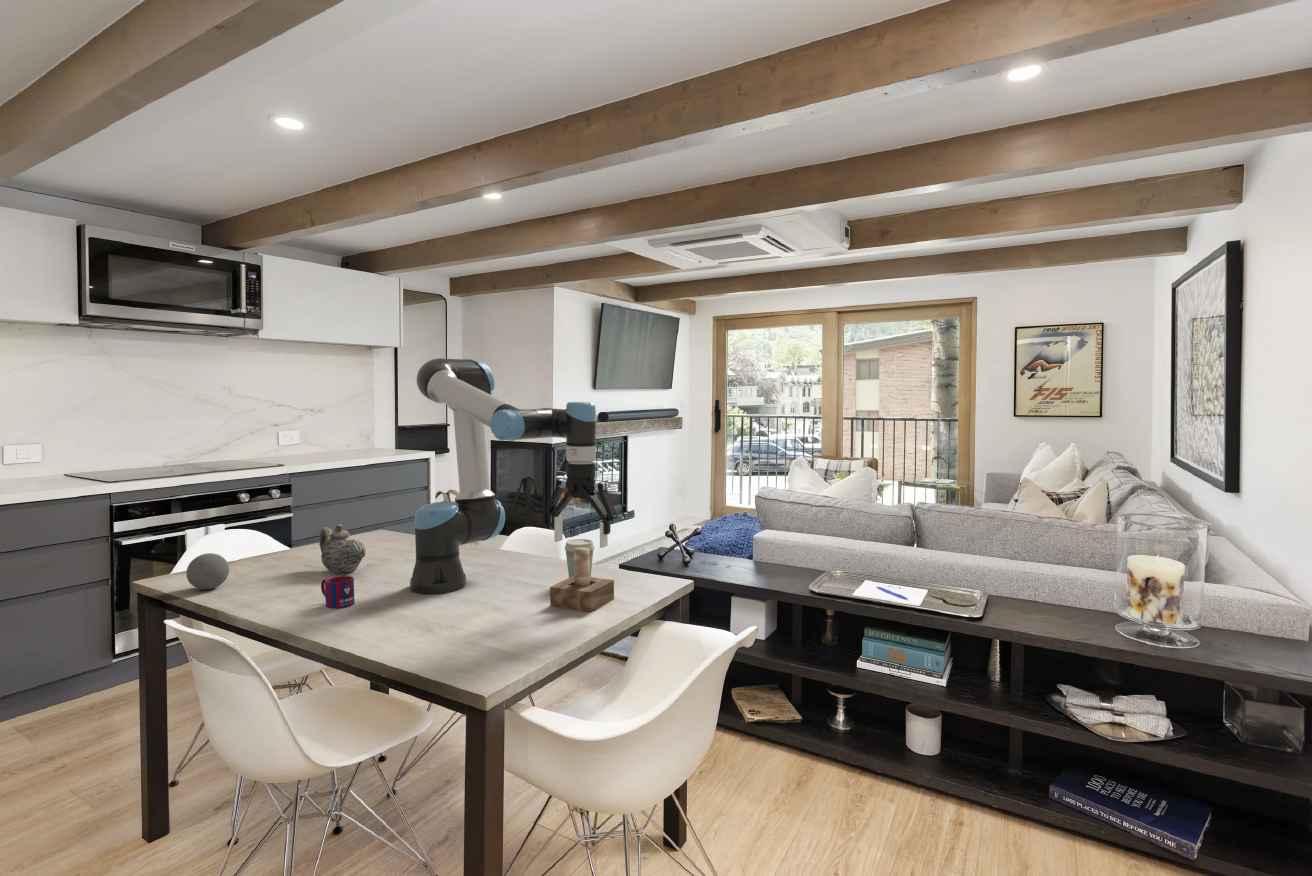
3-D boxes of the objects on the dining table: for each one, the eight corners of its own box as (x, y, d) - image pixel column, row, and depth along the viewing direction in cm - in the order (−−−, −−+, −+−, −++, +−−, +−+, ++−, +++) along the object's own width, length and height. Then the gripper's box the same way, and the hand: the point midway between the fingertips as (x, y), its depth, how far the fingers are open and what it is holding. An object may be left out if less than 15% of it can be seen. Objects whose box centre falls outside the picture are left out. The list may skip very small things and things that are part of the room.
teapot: (379, 572, 203) (377, 523, 202) (344, 581, 193) (342, 530, 192) (338, 563, 214) (336, 517, 213) (303, 571, 205) (301, 523, 204)
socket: (550, 605, 169) (549, 586, 169) (575, 593, 180) (575, 575, 180) (590, 612, 164) (590, 592, 164) (614, 598, 175) (613, 580, 175)
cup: (335, 610, 166) (334, 584, 166) (313, 604, 172) (312, 578, 171) (359, 603, 172) (359, 577, 172) (337, 597, 177) (336, 572, 177)
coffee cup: (589, 588, 185) (589, 545, 184) (560, 586, 186) (560, 544, 186) (598, 579, 193) (598, 539, 192) (570, 578, 195) (570, 538, 194)
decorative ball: (209, 583, 192) (207, 549, 192) (238, 584, 190) (236, 550, 190) (178, 593, 182) (176, 557, 182) (208, 595, 180) (206, 558, 180)
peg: (571, 603, 171) (570, 550, 170) (579, 599, 175) (579, 546, 174) (585, 605, 169) (584, 551, 168) (593, 601, 173) (592, 548, 172)
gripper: (532, 460, 172) (532, 541, 173) (616, 466, 161) (616, 552, 163) (548, 458, 178) (548, 535, 180) (630, 463, 168) (630, 545, 169)
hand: (580, 543), depth 171 cm, fingers open, 13 cm apart
